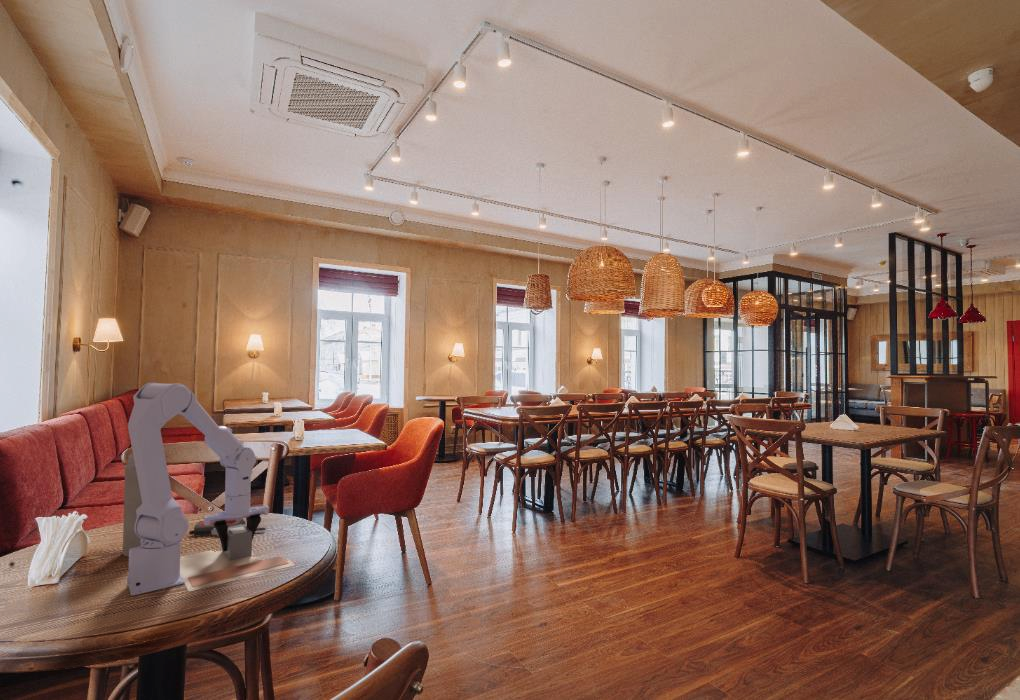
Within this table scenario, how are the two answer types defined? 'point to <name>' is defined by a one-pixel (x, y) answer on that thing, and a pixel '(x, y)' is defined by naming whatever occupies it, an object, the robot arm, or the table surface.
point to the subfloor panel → (223, 568)
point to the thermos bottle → (131, 507)
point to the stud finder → (238, 542)
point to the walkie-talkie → (210, 529)
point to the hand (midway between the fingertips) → (236, 547)
